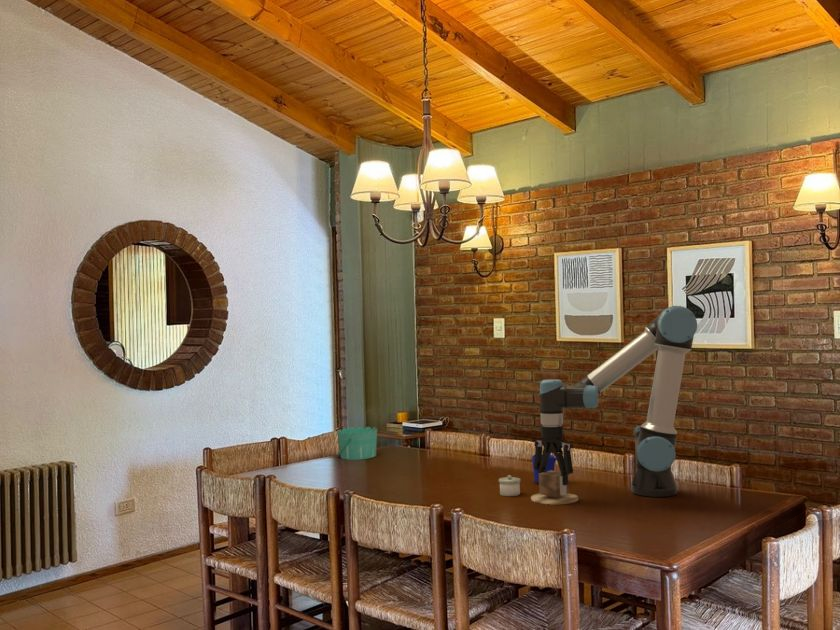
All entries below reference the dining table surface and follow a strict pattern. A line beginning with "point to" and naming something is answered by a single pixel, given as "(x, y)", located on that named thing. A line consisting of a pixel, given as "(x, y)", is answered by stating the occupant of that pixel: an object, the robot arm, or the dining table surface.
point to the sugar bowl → (509, 486)
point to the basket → (357, 443)
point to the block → (550, 483)
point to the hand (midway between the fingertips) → (553, 492)
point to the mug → (548, 468)
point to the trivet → (555, 499)
